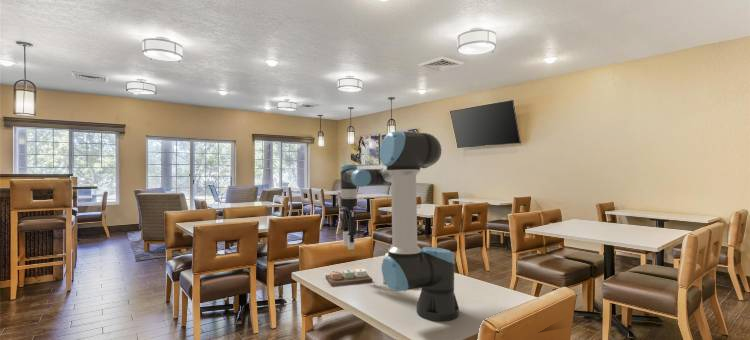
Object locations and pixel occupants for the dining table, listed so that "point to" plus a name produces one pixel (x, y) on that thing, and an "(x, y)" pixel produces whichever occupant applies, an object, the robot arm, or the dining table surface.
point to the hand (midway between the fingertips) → (348, 247)
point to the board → (348, 280)
